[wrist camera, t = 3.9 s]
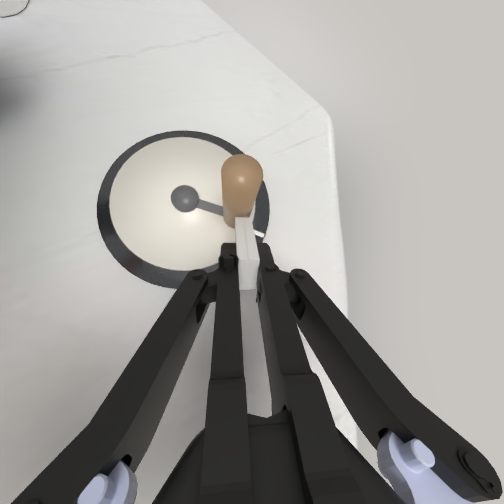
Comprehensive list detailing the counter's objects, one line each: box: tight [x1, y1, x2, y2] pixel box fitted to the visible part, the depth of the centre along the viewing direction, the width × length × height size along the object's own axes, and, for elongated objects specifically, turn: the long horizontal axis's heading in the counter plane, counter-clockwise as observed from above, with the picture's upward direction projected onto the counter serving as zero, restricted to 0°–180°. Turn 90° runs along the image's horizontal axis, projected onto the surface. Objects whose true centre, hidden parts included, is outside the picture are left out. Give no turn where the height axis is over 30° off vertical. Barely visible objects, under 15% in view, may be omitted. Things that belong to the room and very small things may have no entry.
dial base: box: [97, 131, 269, 289], centre depth 24 cm, size 20×20×2 cm
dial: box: [109, 137, 263, 271], centre depth 18 cm, size 16×16×10 cm
